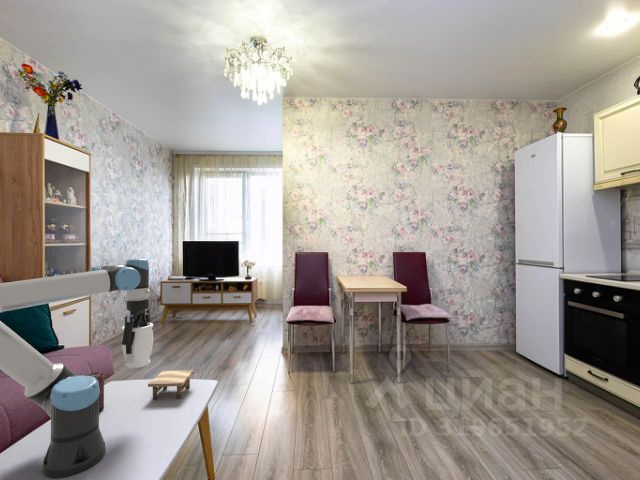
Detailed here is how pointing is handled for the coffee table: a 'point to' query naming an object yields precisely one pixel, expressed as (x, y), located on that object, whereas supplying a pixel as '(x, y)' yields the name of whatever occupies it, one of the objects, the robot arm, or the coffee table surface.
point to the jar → (141, 346)
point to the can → (101, 385)
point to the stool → (171, 381)
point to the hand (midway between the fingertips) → (137, 356)
